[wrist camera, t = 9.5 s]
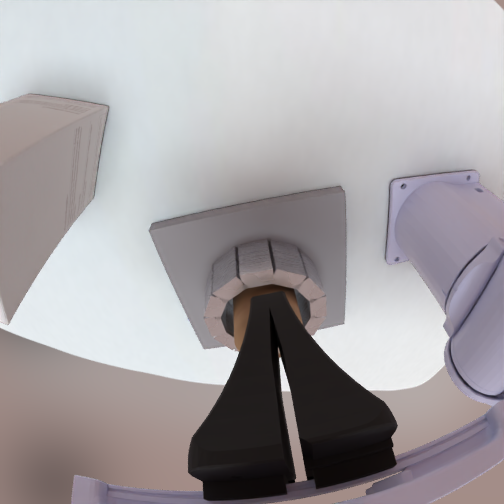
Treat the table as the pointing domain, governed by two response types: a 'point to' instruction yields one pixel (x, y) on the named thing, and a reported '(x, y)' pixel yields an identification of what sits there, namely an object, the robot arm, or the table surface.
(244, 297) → the walnut cap
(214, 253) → the mount plate
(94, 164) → the supplement box
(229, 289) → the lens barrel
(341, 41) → the table surface
